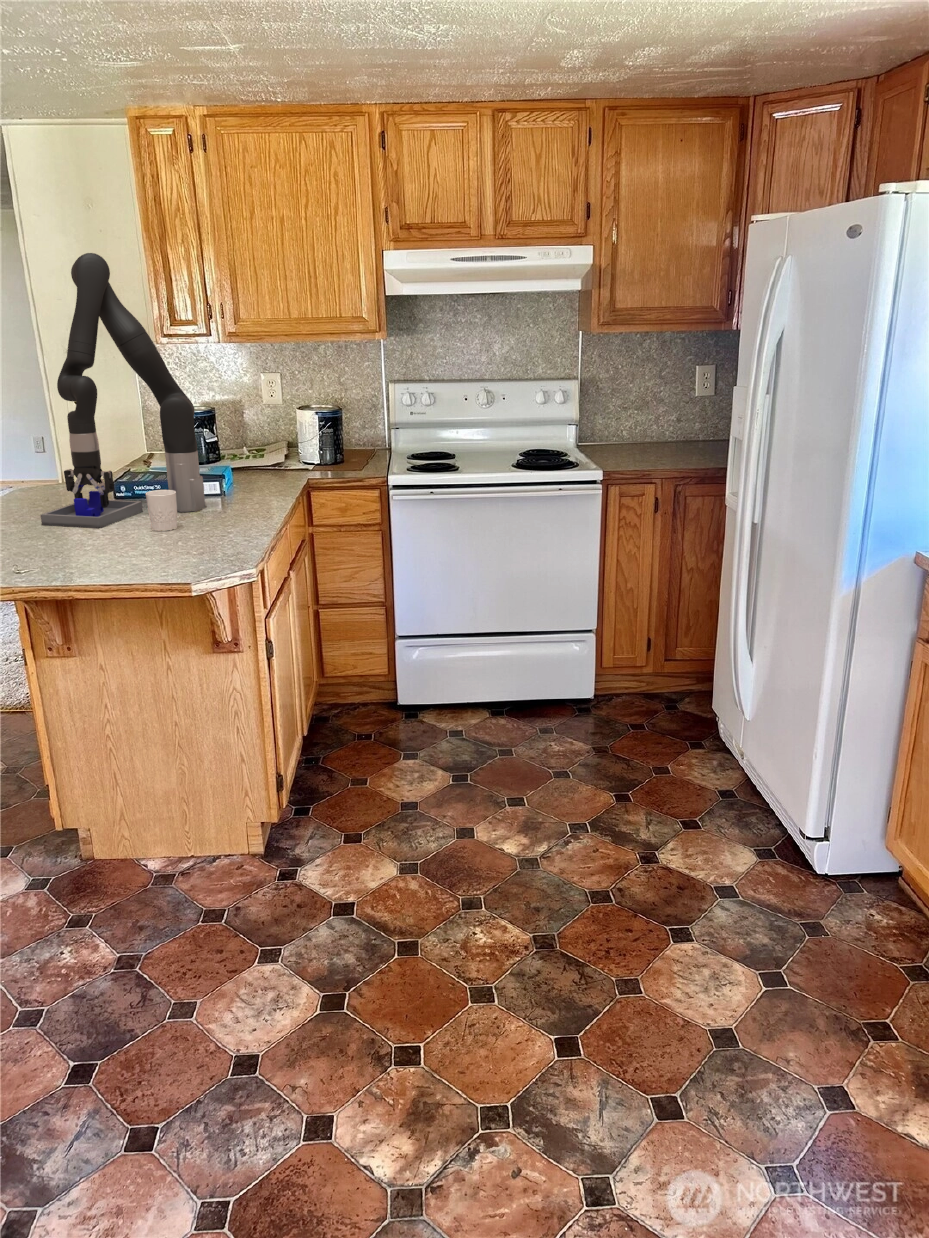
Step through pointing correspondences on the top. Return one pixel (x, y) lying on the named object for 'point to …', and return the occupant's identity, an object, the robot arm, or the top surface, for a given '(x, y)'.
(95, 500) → the blue curved block
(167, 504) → the white cup
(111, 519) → the tray
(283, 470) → the top surface
